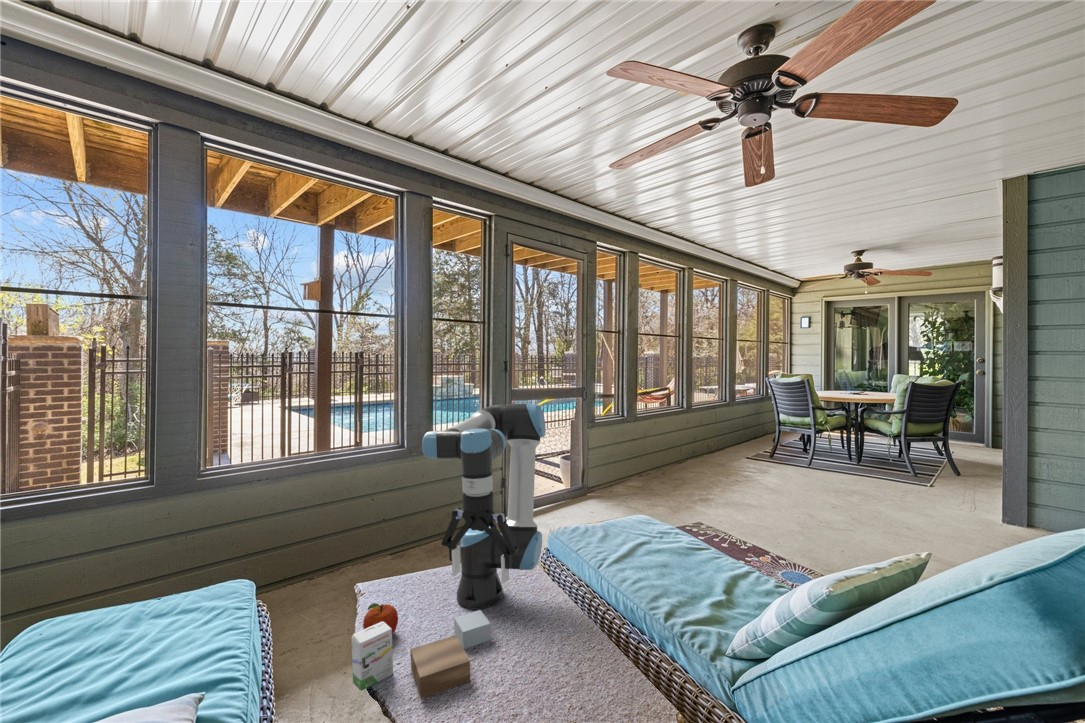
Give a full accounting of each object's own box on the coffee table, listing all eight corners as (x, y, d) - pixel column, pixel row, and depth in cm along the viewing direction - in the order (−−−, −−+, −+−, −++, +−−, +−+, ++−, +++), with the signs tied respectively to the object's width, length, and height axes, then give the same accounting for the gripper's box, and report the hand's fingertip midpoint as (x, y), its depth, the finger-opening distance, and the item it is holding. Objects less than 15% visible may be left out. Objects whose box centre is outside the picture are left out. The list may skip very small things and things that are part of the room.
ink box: (360, 692, 109) (359, 643, 109) (352, 682, 113) (350, 634, 113) (394, 673, 115) (392, 627, 115) (384, 665, 119) (383, 620, 119)
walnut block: (411, 668, 117) (410, 649, 117) (456, 653, 123) (456, 635, 122) (420, 699, 106) (420, 677, 106) (470, 681, 112) (469, 661, 112)
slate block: (454, 635, 131) (454, 617, 131) (480, 626, 135) (480, 609, 135) (463, 650, 124) (463, 632, 124) (491, 640, 128) (490, 623, 128)
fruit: (402, 640, 129) (401, 604, 129) (366, 651, 124) (365, 615, 124) (394, 623, 138) (393, 590, 138) (360, 634, 133) (359, 600, 133)
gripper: (426, 492, 114) (429, 577, 114) (518, 500, 106) (521, 591, 106) (442, 484, 121) (445, 564, 121) (530, 491, 113) (532, 576, 113)
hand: (480, 577), depth 114 cm, fingers open, 13 cm apart
